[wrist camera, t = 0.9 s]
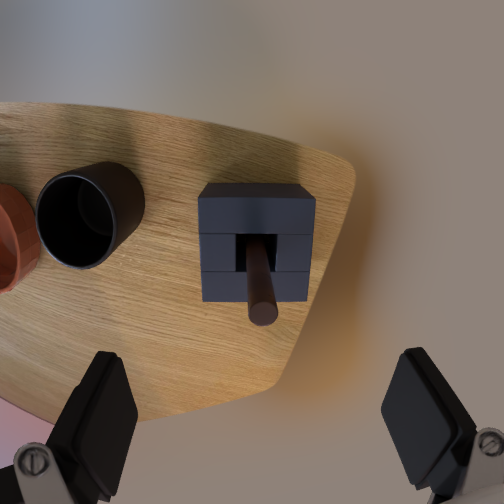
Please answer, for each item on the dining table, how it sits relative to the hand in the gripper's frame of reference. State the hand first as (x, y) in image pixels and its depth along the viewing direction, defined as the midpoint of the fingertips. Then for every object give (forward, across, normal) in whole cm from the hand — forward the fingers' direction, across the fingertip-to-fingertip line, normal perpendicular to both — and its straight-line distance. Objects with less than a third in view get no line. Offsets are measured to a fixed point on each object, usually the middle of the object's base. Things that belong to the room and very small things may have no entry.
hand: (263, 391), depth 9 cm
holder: (+27, -1, +2) cm, 27 cm away
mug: (+27, +18, -1) cm, 32 cm away
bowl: (+27, +34, +2) cm, 44 cm away
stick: (+27, -1, +2) cm, 27 cm away
